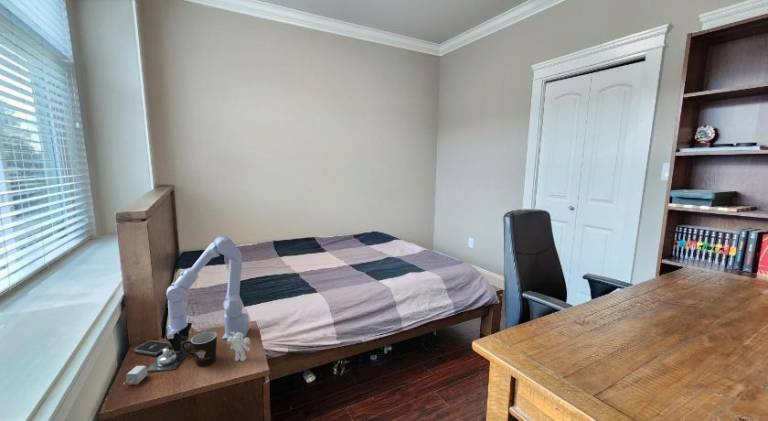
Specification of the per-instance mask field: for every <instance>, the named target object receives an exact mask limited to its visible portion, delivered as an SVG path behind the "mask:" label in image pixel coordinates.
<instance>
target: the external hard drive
mask: <svg viewBox="0 0 768 421" xmlns="http://www.w3.org/2000/svg"><path fill="white" fill-rule="evenodd" d="M164 348H169V349H170V348H172V346H171V344H170V343H169V342H164V341H156V340H147V341H146V342H144V343H142V344H141V345H139V346H137V347H136V348H134V353H135V354H137V353H138V354H139V355H145V356H150V357H156V358H157V357H158V356H159V355H162V354H163V349H164Z"/></svg>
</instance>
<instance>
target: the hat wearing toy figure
mask: <svg viewBox="0 0 768 421" xmlns="http://www.w3.org/2000/svg"><path fill="white" fill-rule="evenodd" d="M230 333H231V334H233V335H234V336H233V337H232V336H230V337H228V339H226V341H227V344H228V345H230V350H231V351H232V350H234V352H235V355H234V356H235V357H234V361H235V362H237V361H241V362H244V361H245V360H246V359H247V356H245V355H246V353H245V351H247V353H248V352H250V350H251V348H250V347H249V346H248V345H250V343H251V340H250V338H249V337H248V336H247V335H246V336H245V337H243V334H241V333H240V332H238V333H236V334H235V332H231V331H230ZM247 344H248V345H247ZM244 349H245V350H244Z"/></svg>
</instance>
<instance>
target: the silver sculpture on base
mask: <svg viewBox="0 0 768 421" xmlns="http://www.w3.org/2000/svg"><path fill="white" fill-rule="evenodd" d="M187 355H188V353H187V352H182V353H175V352H173V351H170V348H164V349H163V353H161V354H160V355H158V356H157V357H156V359H155V360H154V361H153V362H152V363H151V364H150V365H149V366H148V367H147V373H155V372H166V371H175V370H177V368H178V367H179V365H180V364H181V363H182V361H183V360H184V359H185V357H186V356H187Z"/></svg>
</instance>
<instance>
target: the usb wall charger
mask: <svg viewBox="0 0 768 421" xmlns="http://www.w3.org/2000/svg"><path fill="white" fill-rule="evenodd" d="M147 369H148V367H147V366H146V365H136V366H135V367H133V368H132V369H131V370H130V371H128V372H127V373H126V374H125V378H126V379H125V381H124V382H123V383H122V384H123V386H125V385H126V384H127V383H129V384H128V385H129V386H130V385H139V384H140V383H141V382H142V381H143V380H145V378H146V377H147V376H148V372H147ZM130 383H131V384H130Z"/></svg>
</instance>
